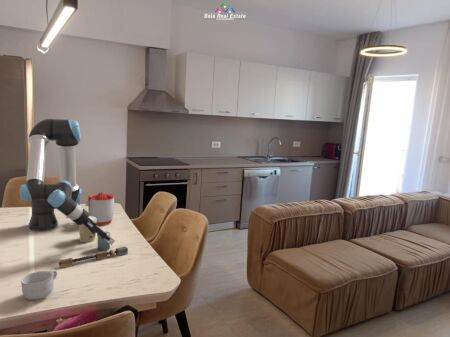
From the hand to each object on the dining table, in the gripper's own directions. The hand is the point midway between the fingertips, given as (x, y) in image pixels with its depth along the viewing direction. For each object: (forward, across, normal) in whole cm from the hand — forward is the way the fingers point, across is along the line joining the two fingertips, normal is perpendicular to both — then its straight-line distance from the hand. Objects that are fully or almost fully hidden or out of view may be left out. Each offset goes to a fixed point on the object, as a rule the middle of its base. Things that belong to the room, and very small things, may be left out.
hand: (108, 238), depth 179 cm
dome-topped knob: (+2, 0, -5) cm, 6 cm away
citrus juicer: (+10, -40, +3) cm, 41 cm away
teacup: (-23, +31, -30) cm, 49 cm away
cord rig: (-4, +11, -12) cm, 17 cm away
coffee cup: (0, -16, -8) cm, 18 cm away
